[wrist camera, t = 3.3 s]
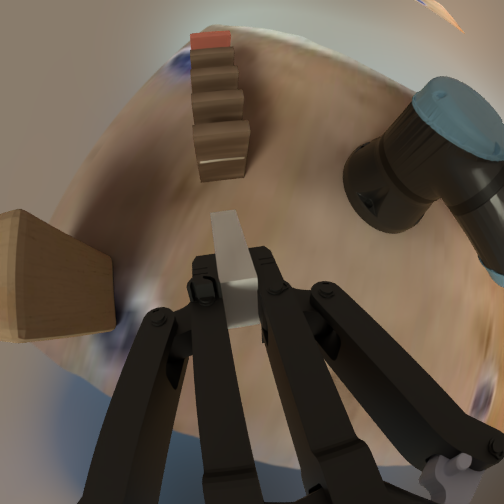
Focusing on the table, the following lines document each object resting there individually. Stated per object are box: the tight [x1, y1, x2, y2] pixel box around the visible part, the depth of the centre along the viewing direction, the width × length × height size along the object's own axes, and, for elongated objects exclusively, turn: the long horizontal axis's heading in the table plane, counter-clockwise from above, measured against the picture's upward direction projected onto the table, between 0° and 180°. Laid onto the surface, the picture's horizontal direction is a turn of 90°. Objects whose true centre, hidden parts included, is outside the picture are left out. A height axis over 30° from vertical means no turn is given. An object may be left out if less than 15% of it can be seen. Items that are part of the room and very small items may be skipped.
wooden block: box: [0, 209, 116, 343], centre depth 22 cm, size 10×10×20 cm
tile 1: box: [192, 120, 251, 183], centre depth 32 cm, size 2×6×11 cm, turn 99°
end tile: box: [190, 31, 231, 50], centre depth 35 cm, size 2×6×11 cm, turn 99°
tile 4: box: [190, 46, 234, 69], centre depth 34 cm, size 2×6×11 cm, turn 99°
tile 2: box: [191, 89, 244, 125], centre depth 33 cm, size 2×6×11 cm, turn 99°
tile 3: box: [191, 66, 239, 94], centre depth 34 cm, size 2×6×11 cm, turn 99°
